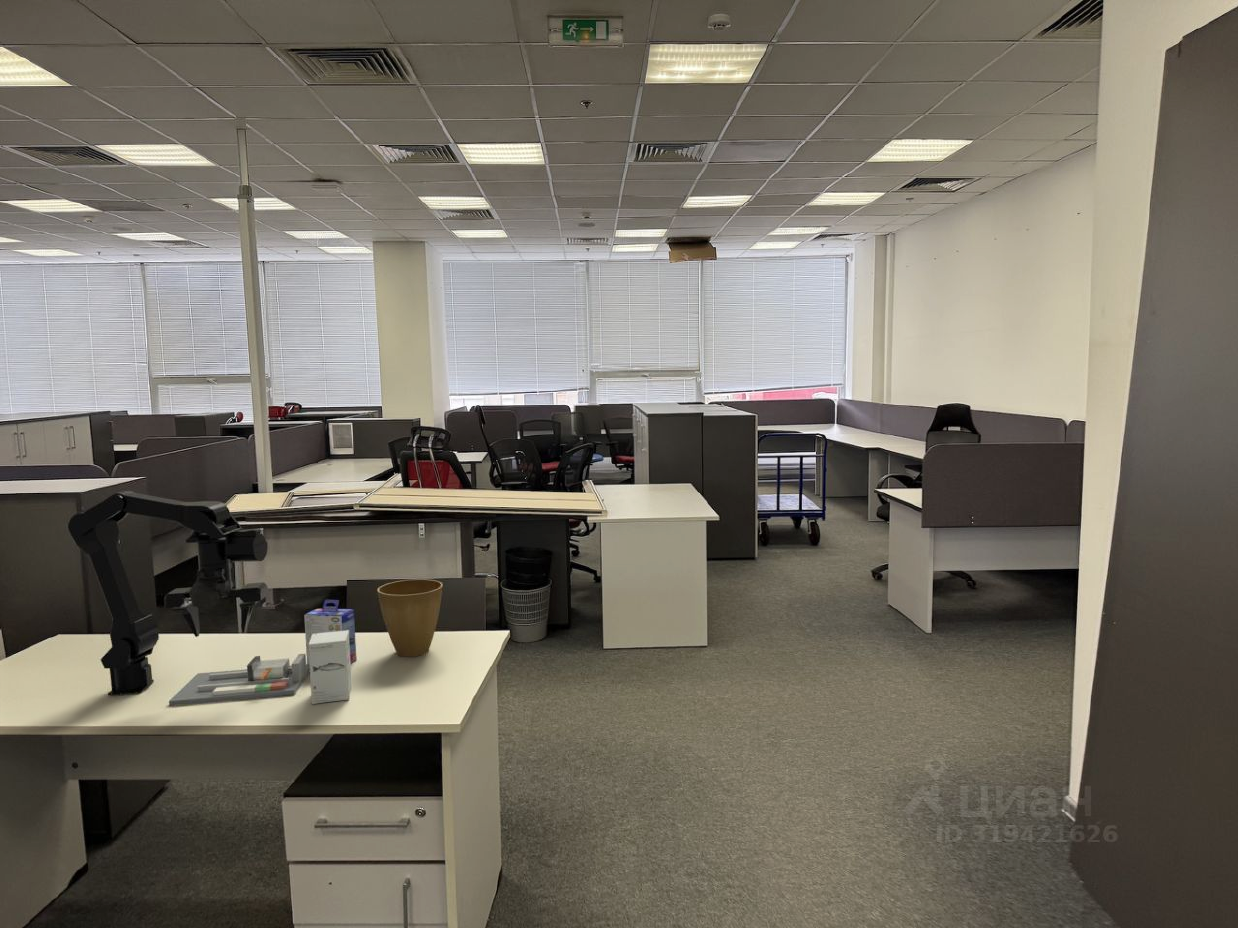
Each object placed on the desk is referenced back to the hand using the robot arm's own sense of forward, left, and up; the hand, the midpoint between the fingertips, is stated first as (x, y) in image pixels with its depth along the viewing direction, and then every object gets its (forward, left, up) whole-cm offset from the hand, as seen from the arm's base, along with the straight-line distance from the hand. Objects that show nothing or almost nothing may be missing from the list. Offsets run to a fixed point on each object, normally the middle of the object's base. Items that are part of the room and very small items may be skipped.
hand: (220, 634), depth 158 cm
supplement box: (+24, -10, -12) cm, 28 cm away
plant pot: (+38, +13, -12) cm, 42 cm away
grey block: (+9, -2, -10) cm, 14 cm away
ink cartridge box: (+20, +10, -12) cm, 25 cm away
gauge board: (+4, 0, -12) cm, 12 cm away
